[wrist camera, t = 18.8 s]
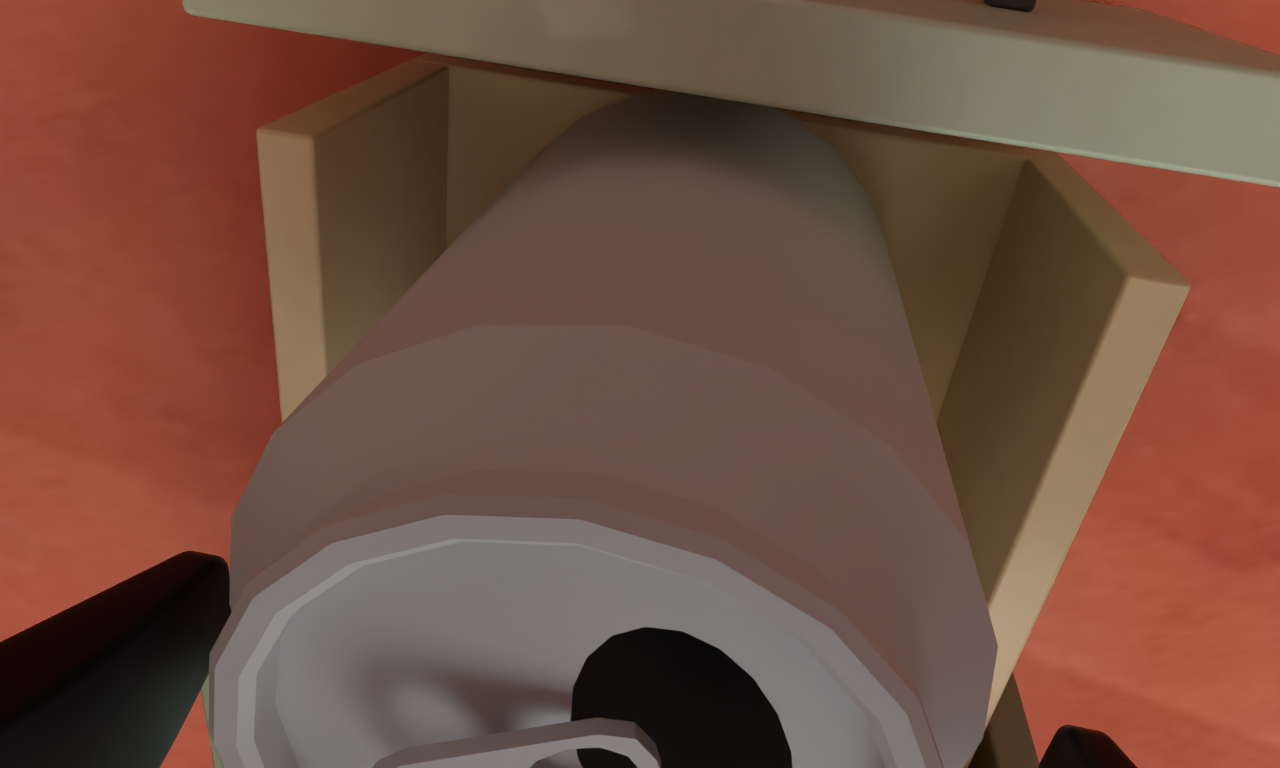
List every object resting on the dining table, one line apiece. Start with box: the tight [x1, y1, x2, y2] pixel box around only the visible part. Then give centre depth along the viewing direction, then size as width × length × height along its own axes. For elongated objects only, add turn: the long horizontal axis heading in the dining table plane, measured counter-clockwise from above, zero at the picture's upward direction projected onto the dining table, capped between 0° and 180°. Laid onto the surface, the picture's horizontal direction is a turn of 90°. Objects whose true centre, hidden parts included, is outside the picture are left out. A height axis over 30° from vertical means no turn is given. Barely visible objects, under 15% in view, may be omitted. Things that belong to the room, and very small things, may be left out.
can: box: [209, 91, 998, 768], centre depth 13 cm, size 8×8×12 cm
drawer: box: [182, 0, 1280, 768], centre depth 15 cm, size 19×13×7 cm
